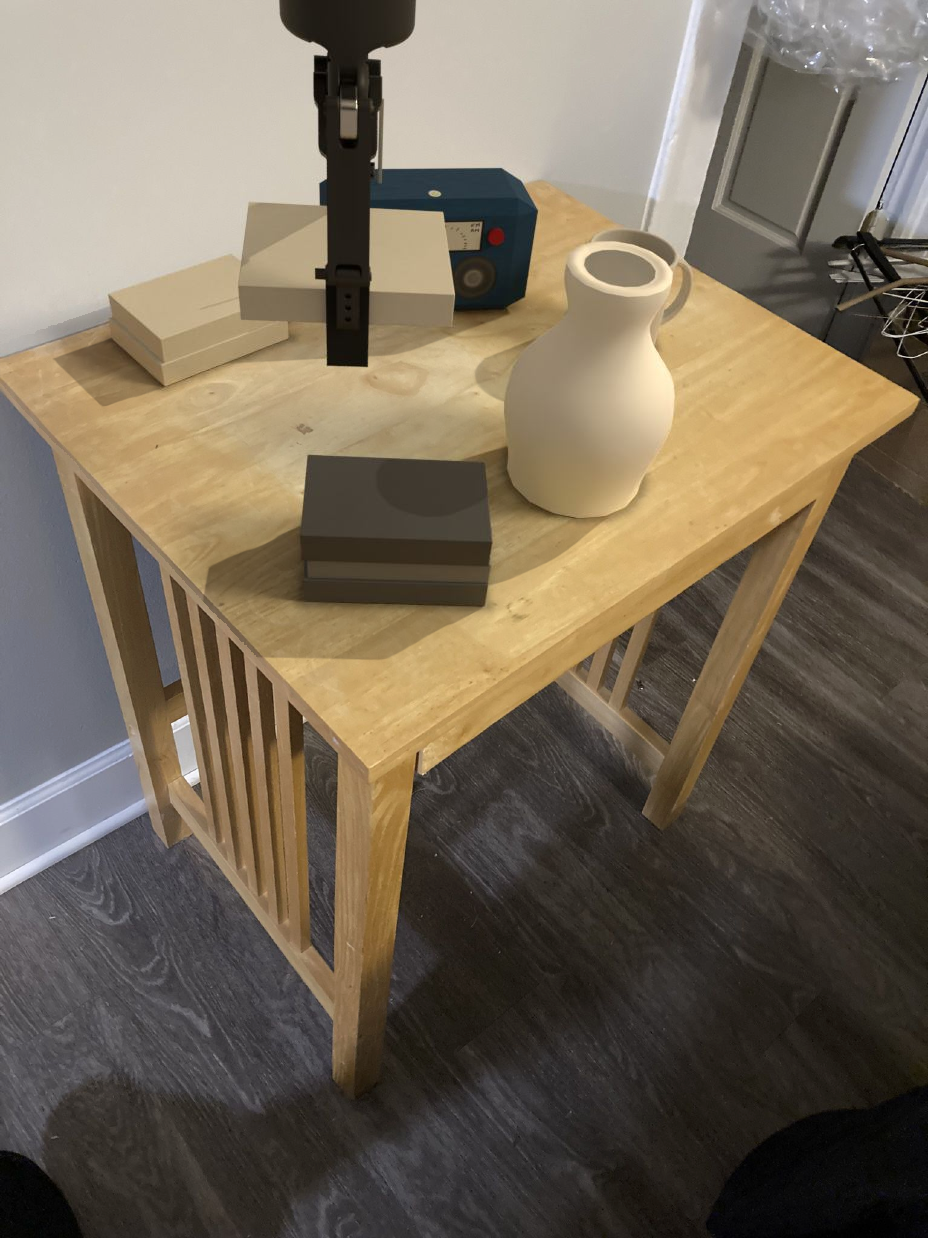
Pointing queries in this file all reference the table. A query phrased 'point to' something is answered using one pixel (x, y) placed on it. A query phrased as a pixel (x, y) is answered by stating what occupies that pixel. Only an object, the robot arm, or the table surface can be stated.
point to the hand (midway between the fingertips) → (346, 314)
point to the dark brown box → (395, 531)
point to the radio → (467, 224)
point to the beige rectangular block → (188, 321)
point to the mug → (665, 253)
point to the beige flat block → (297, 244)
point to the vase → (593, 387)
